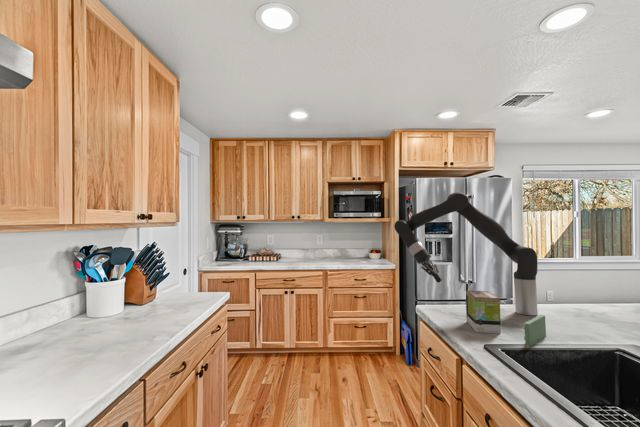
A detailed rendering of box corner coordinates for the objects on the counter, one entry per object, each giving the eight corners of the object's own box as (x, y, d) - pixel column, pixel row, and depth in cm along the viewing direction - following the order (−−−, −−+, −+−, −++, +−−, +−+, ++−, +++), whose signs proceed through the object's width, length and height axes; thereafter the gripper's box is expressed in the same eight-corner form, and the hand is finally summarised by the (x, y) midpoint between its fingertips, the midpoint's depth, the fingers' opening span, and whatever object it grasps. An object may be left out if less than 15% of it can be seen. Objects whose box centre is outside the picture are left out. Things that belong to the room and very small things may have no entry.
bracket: (539, 334, 124) (538, 314, 124) (546, 335, 122) (544, 315, 122) (523, 344, 113) (522, 322, 114) (530, 346, 111) (529, 324, 112)
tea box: (502, 334, 125) (500, 297, 126) (475, 332, 127) (474, 296, 128) (489, 322, 140) (488, 290, 140) (465, 321, 142) (464, 289, 142)
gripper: (418, 247, 151) (440, 277, 142) (430, 248, 161) (451, 276, 152) (407, 256, 155) (428, 286, 146) (419, 257, 164) (439, 285, 155)
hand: (439, 281), depth 149 cm, fingers closed
